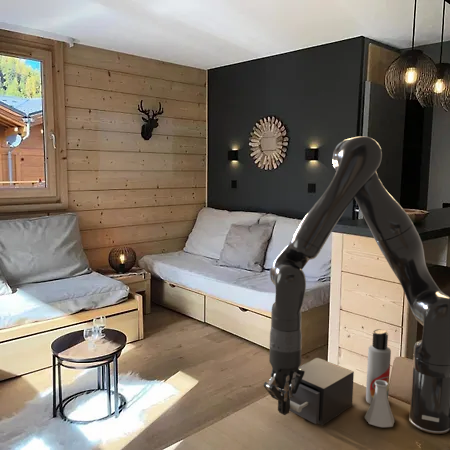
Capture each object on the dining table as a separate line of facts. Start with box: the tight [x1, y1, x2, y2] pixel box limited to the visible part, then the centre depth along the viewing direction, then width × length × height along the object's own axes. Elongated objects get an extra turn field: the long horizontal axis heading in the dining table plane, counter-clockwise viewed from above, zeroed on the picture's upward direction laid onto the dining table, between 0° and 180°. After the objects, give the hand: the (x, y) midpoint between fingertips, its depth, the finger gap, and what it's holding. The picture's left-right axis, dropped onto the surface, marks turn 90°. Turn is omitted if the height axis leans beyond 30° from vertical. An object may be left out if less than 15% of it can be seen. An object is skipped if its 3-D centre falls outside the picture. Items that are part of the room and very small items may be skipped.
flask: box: [364, 380, 395, 428], centre depth 113 cm, size 7×7×10 cm
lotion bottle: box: [365, 328, 392, 405], centre depth 121 cm, size 6×6×20 cm
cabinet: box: [296, 357, 355, 426], centre depth 119 cm, size 14×12×10 cm
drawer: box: [289, 382, 321, 425], centre depth 116 cm, size 17×10×8 cm, turn 133°
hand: (283, 412), depth 109 cm, fingers closed
